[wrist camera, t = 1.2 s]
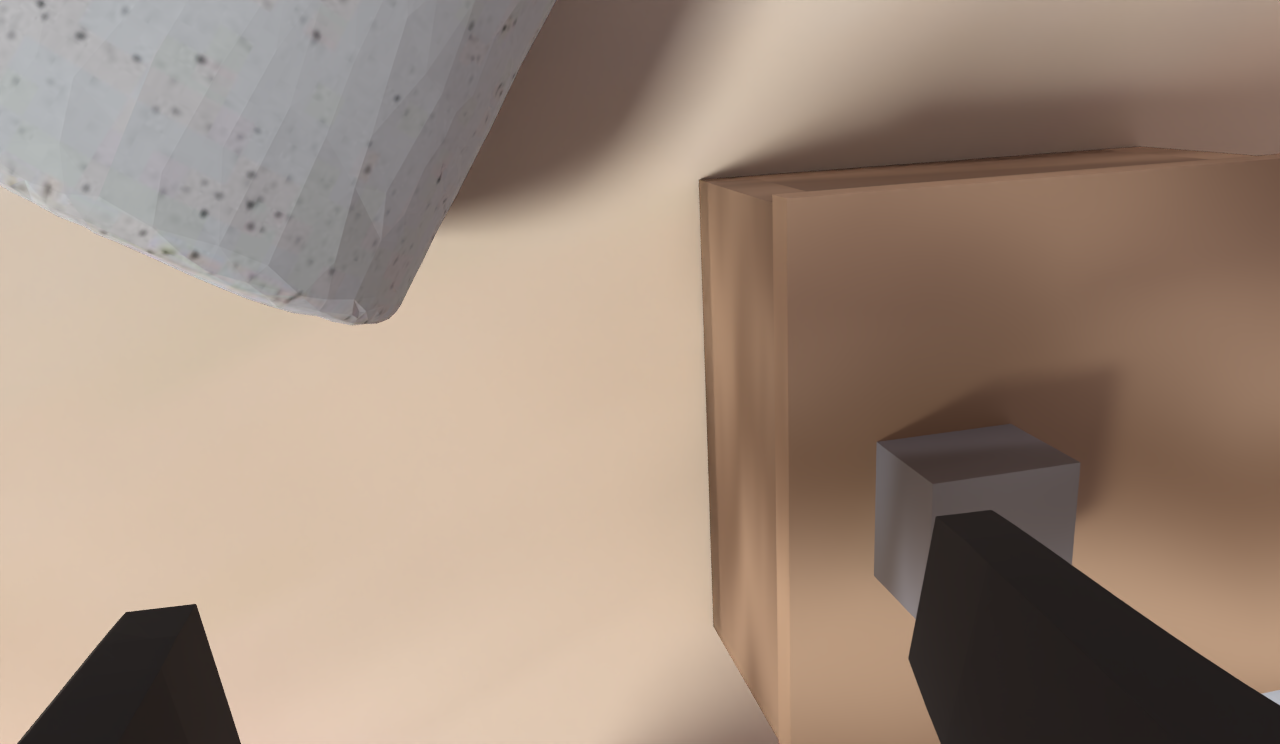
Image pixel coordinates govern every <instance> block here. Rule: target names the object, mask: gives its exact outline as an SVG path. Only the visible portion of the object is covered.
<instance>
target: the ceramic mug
mask: <svg viewBox="0 0 1280 744" xmlns="http://www.w3.org/2000/svg"><path fill="white" fill-rule="evenodd" d="M555 2H556V0H0V186H2V187H4V188H5V189H7V190H9V191H10V192H12V193H14V194H17V195H19V196H21V197H23V198H25V199H27V200H29V201H31V202H33V203H34V204H36V205H38V206H40V207H42V208H44V209H45V210H47V211H49V212H51V213H53V214H54V215H56V216H58V217H61V218H63V219H66V220H68V221H71V222H73V223H76V224H79V225H81V226H84V227H86V228H87V229H89V230H90V231H92V232H93V233H95V234H97V235H100V236H102V237H105V238H107V239H110V240H112V241H115V242H117V243H119V244H122V245H124V246H126V247H129V248H131V249H133V250H135V251H138V252H140V253H142V254H145V255H147V256H149V257H151V258H154V259H156V260H158V261H160V262H162V263H164V264H167V265H169V266H171V267H173V268H175V269H177V270H179V271H182V272H184V273H186V274H188V275H191V276H193V277H196V278H198V279H200V280H203V281H205V282H208V283H210V284H212V285H215V286H217V287H220V288H222V289H224V290H227V291H229V292H232V293H234V294H237V295H239V296H241V297H244V298H246V299H249V300H252V301H256V302H259V303H262V304H265V305H268V306H271V307H274V308H278V309H281V310H285V311H288V312H292V313H298V314H305V315H313V316H318V317H321V318H324V319H327V320H330V321H332V322H337V323H342V324H348V325H360V324H374V323H379V322H382V321H384V320H387V319H389V318H390V317H391V316H392V315H393V314H394V313H395V312H396V311H397V310H398V308H399V307H400V305H401V303H402V301H403V299H404V297H405V295H406V293H407V291H408V289H409V287H410V285H411V283H412V281H413V279H414V277H415V275H416V273H417V271H418V269H419V267H420V265H421V263H422V261H423V259H424V257H425V255H426V253H427V251H428V249H429V247H430V245H431V243H432V240H433V238H434V236H435V234H436V232H437V230H438V228H439V227H440V225H441V223H442V221H443V219H444V217H445V216H446V214H447V212H448V210H449V208H450V206H451V205H452V203H453V201H454V199H455V197H456V195H457V194H458V192H459V190H460V188H461V186H462V184H463V182H464V180H465V178H466V176H467V174H468V172H469V170H470V168H471V166H472V164H473V162H474V160H475V158H476V156H477V154H478V152H479V150H480V148H481V146H482V144H483V142H484V141H485V139H486V137H487V135H488V133H489V131H490V129H491V127H492V125H493V123H494V121H495V118H496V116H497V114H498V112H499V110H500V108H501V106H502V104H503V102H504V99H505V97H506V95H507V93H508V91H509V89H510V87H511V85H512V83H513V81H514V79H515V77H516V75H517V72H518V70H519V68H520V66H521V64H522V63H523V61H524V59H525V57H526V55H527V53H528V52H529V50H530V48H531V46H532V44H533V42H534V40H535V39H536V37H537V35H538V33H539V31H540V29H541V28H542V26H543V24H544V22H545V20H546V18H547V16H548V15H549V13H550V11H551V9H552V7H553V5H554V4H555Z"/></svg>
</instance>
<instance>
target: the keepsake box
mask: <svg viewBox="0 0 1280 744" xmlns="http://www.w3.org/2000/svg"><path fill="white" fill-rule="evenodd" d="M1247 156H1253V155H1241V154H1228V153H1215V152H1202V151H1190V150H1177V149H1164V148H1152V147H1128V148H1115V149H1102V150H1088V151H1075V152H1062V153H1049V154H1035V155H1022V156H1009V157H995V158H982V159H969V160H956V161H942V162H929V163H916V164H903V165H889V166H876V167H863V168H850V169H836V170H823V171H810V172H796V173H783V174H770V175H757V176H743V177H730V178H717V179H704V180H699V199H700V230H701V260H702V290H703V321H704V351H705V382H706V412H707V443H708V473H709V503H710V534H711V564H712V595H713V625H714V628H715V630H716V631H717V633H718V635H719V637H720V638H721V640H722V642H723V644H724V645H725V647H726V649H727V651H728V652H729V654H730V656H731V658H732V659H733V661H734V663H735V665H736V666H737V668H738V670H739V672H740V673H741V675H742V677H743V679H744V680H745V682H746V684H747V686H748V687H749V689H750V691H751V693H752V694H753V696H754V698H755V700H756V701H757V703H758V705H759V707H760V708H761V710H762V712H763V714H764V715H765V717H766V719H767V721H768V722H769V724H770V726H771V728H772V729H773V731H774V733H775V735H776V736H777V738H778V740H779V725H778V639H777V553H776V467H775V382H774V296H773V210H772V194H783V193H796V192H808V191H821V190H833V189H846V188H859V187H871V186H884V185H896V184H909V183H921V182H934V181H946V180H959V179H971V178H984V177H997V176H1009V175H1022V174H1034V173H1047V172H1059V171H1072V170H1084V169H1097V168H1109V167H1122V166H1135V165H1147V164H1160V163H1172V162H1185V161H1197V160H1210V159H1222V158H1235V157H1247Z"/></svg>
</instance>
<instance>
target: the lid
mask: <svg viewBox="0 0 1280 744" xmlns="http://www.w3.org/2000/svg"><path fill="white" fill-rule="evenodd" d="M772 210H773V296H774V382H775V467H776V553H777V639H778V725H779V744H941V743H940V741H939V738H938V736H937V733H936V731H935V728H934V726H933V723H932V721H931V718H930V716H929V713H928V711H927V708H926V706H925V703H924V700H923V697H922V695H921V692H920V689H919V687H918V684H917V681H916V679H915V676H914V673H913V670H912V668H911V665H910V662H909V660H908V656H909V651H910V646H911V641H912V636H913V631H914V626H915V620H916V615H917V610H918V605H919V600H920V595H921V590H922V585H923V579H924V574H925V569H926V564H927V559H928V554H929V549H930V543H931V538H932V533H933V528H934V523H935V518H936V516H943V515H951V514H960V513H968V512H977V511H985V510H993V511H994V512H996V513H997V514H999V515H1001V516H1002V517H1004V518H1005V519H1007V520H1008V521H1010V522H1011V523H1013V524H1014V525H1016V526H1017V527H1019V528H1020V529H1021V530H1023V531H1024V532H1026V533H1027V534H1029V535H1030V536H1032V537H1033V538H1034V539H1036V540H1037V541H1039V542H1040V543H1042V544H1043V545H1044V546H1046V547H1047V548H1049V549H1050V550H1051V551H1053V552H1054V553H1056V554H1057V555H1059V556H1060V557H1061V558H1063V559H1064V560H1066V561H1067V562H1068V563H1070V564H1071V565H1073V566H1074V567H1075V568H1077V569H1078V570H1080V571H1081V572H1082V573H1084V574H1085V575H1087V576H1088V577H1089V578H1091V579H1092V580H1094V581H1095V582H1097V583H1098V584H1099V585H1101V586H1102V587H1104V588H1105V589H1106V590H1108V591H1109V592H1111V593H1112V594H1113V595H1115V596H1116V597H1118V598H1119V599H1121V600H1122V601H1123V602H1125V603H1126V604H1128V605H1129V606H1131V607H1132V608H1133V609H1135V610H1136V611H1138V612H1139V613H1141V614H1142V615H1143V616H1145V617H1146V618H1148V619H1149V620H1151V621H1152V622H1154V623H1155V624H1157V625H1158V626H1159V627H1161V628H1162V629H1164V630H1165V631H1167V632H1168V633H1170V634H1171V635H1173V636H1174V637H1175V638H1177V639H1178V640H1180V641H1181V642H1183V643H1184V644H1186V645H1187V646H1189V647H1190V648H1192V649H1193V650H1195V651H1196V652H1198V653H1199V654H1201V655H1202V656H1204V657H1205V658H1207V659H1208V660H1210V661H1211V662H1213V663H1214V664H1216V665H1217V666H1219V667H1220V668H1222V669H1224V670H1225V671H1227V672H1228V673H1230V674H1231V675H1233V676H1234V677H1236V678H1237V679H1239V680H1240V681H1242V682H1243V683H1245V684H1247V685H1248V686H1250V687H1251V688H1253V689H1255V690H1256V691H1258V692H1259V693H1261V694H1262V693H1267V692H1272V691H1277V690H1280V154H1273V155H1260V156H1247V157H1235V158H1222V159H1210V160H1197V161H1185V162H1172V163H1160V164H1147V165H1135V166H1122V167H1109V168H1097V169H1084V170H1072V171H1059V172H1047V173H1034V174H1022V175H1009V176H997V177H984V178H971V179H959V180H946V181H934V182H921V183H909V184H896V185H884V186H871V187H859V188H846V189H833V190H821V191H808V192H796V193H783V194H772Z"/></svg>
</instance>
